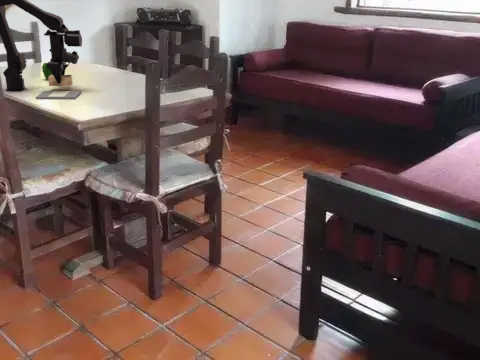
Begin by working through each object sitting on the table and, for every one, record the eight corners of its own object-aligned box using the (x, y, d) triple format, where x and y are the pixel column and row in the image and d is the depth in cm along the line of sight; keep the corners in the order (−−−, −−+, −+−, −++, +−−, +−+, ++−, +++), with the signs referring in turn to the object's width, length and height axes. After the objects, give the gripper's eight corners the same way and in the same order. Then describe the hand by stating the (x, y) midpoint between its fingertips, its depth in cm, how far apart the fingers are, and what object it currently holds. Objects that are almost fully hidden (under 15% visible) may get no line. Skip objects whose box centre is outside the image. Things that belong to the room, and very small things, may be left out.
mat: (35, 98, 225) (35, 96, 225) (43, 92, 236) (43, 90, 236) (75, 99, 226) (74, 97, 226) (81, 93, 237) (81, 91, 237)
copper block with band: (49, 86, 239) (48, 76, 237) (52, 83, 243) (51, 74, 242) (69, 86, 239) (69, 76, 238) (72, 84, 244) (71, 74, 242)
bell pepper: (49, 82, 258) (46, 60, 255) (40, 79, 264) (38, 58, 260) (65, 79, 264) (63, 59, 261) (56, 77, 269) (54, 56, 266)
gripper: (71, 49, 227) (74, 86, 233) (81, 43, 244) (83, 78, 250) (44, 49, 226) (47, 86, 232) (55, 43, 244) (59, 78, 249)
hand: (60, 82), depth 241 cm, fingers closed on copper block with band, 5 cm apart
